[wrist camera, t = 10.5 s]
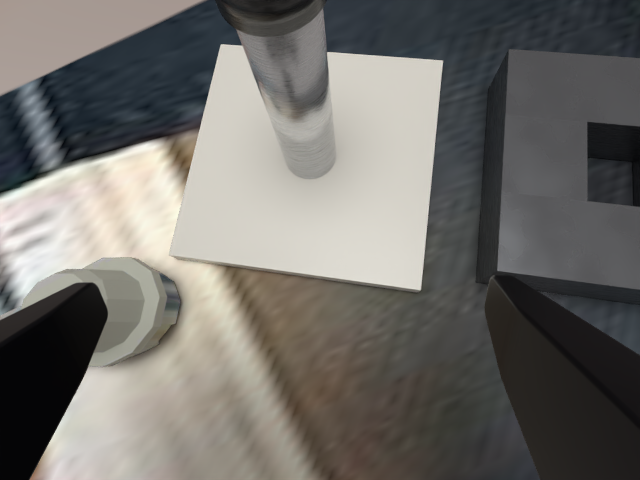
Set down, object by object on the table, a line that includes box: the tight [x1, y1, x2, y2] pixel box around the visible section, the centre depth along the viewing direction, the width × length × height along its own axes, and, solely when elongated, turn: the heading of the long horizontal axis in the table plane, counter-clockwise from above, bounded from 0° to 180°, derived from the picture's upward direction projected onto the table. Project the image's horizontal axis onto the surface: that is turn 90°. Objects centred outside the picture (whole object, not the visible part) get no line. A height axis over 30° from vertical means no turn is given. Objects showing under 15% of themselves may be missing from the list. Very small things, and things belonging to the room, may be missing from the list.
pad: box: [169, 44, 443, 293], centre depth 24 cm, size 14×14×1 cm
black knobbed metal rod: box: [215, 0, 336, 179], centre depth 18 cm, size 4×4×13 cm
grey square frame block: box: [476, 49, 640, 305], centre depth 21 cm, size 12×12×4 cm
